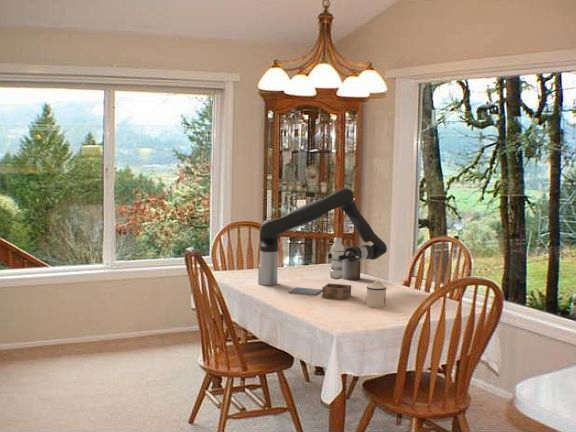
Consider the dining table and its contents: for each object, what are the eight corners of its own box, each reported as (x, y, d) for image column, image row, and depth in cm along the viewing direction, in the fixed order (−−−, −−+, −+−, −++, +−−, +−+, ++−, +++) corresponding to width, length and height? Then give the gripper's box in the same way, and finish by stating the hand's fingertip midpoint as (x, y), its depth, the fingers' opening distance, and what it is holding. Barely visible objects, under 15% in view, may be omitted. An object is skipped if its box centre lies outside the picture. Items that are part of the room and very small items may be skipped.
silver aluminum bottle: (334, 277, 347) (335, 236, 344) (346, 279, 343) (347, 237, 341) (327, 279, 341) (328, 238, 339) (339, 281, 338) (340, 239, 335)
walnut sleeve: (322, 297, 340) (322, 287, 339) (328, 293, 350) (328, 283, 349) (345, 299, 336) (345, 289, 336) (350, 295, 346) (351, 285, 345)
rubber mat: (288, 292, 349) (288, 291, 349) (296, 288, 360) (296, 287, 360) (315, 295, 344) (315, 294, 344) (322, 290, 356) (322, 289, 355)
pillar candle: (363, 278, 390) (363, 251, 389) (355, 280, 382) (355, 253, 380) (347, 276, 395) (348, 249, 394) (339, 279, 387) (339, 251, 386)
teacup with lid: (388, 307, 322) (389, 282, 320) (369, 308, 320) (370, 282, 319) (380, 301, 333) (381, 277, 332) (361, 302, 332) (362, 277, 330)
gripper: (345, 244, 356) (323, 247, 344) (368, 247, 346) (346, 251, 334) (345, 259, 356) (322, 262, 345) (367, 263, 346) (345, 267, 335)
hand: (334, 257), depth 339 cm, fingers closed on silver aluminum bottle, 6 cm apart
